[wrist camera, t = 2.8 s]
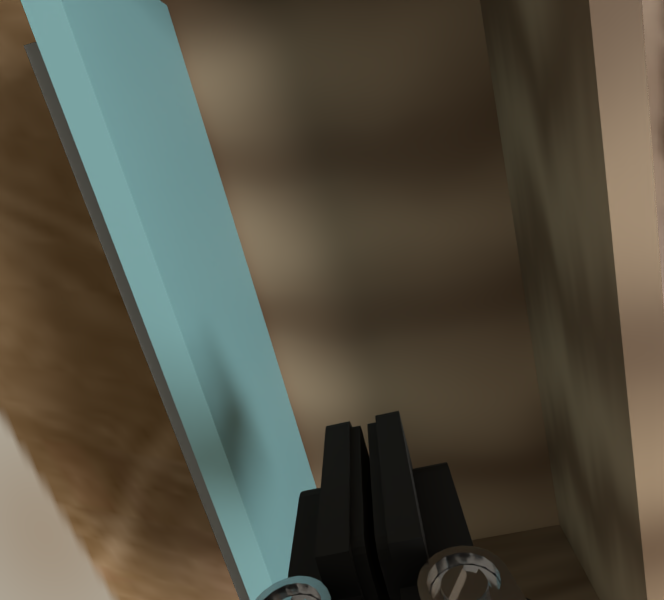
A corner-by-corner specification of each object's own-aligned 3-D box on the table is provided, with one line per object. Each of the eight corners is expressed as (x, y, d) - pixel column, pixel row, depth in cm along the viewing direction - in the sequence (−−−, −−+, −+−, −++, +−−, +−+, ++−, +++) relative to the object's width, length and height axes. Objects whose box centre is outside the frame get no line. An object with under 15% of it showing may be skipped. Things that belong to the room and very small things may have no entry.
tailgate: (128, 17, 18) (-38, -70, 10) (167, 5, 18) (28, -92, 10) (311, 568, 25) (293, 763, 17) (339, 563, 25) (335, 757, 17)
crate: (150, -17, 19) (-29, -150, 10) (480, -118, 18) (614, -377, 9) (331, 558, 27) (322, 776, 18) (571, 515, 25) (693, 726, 16)
